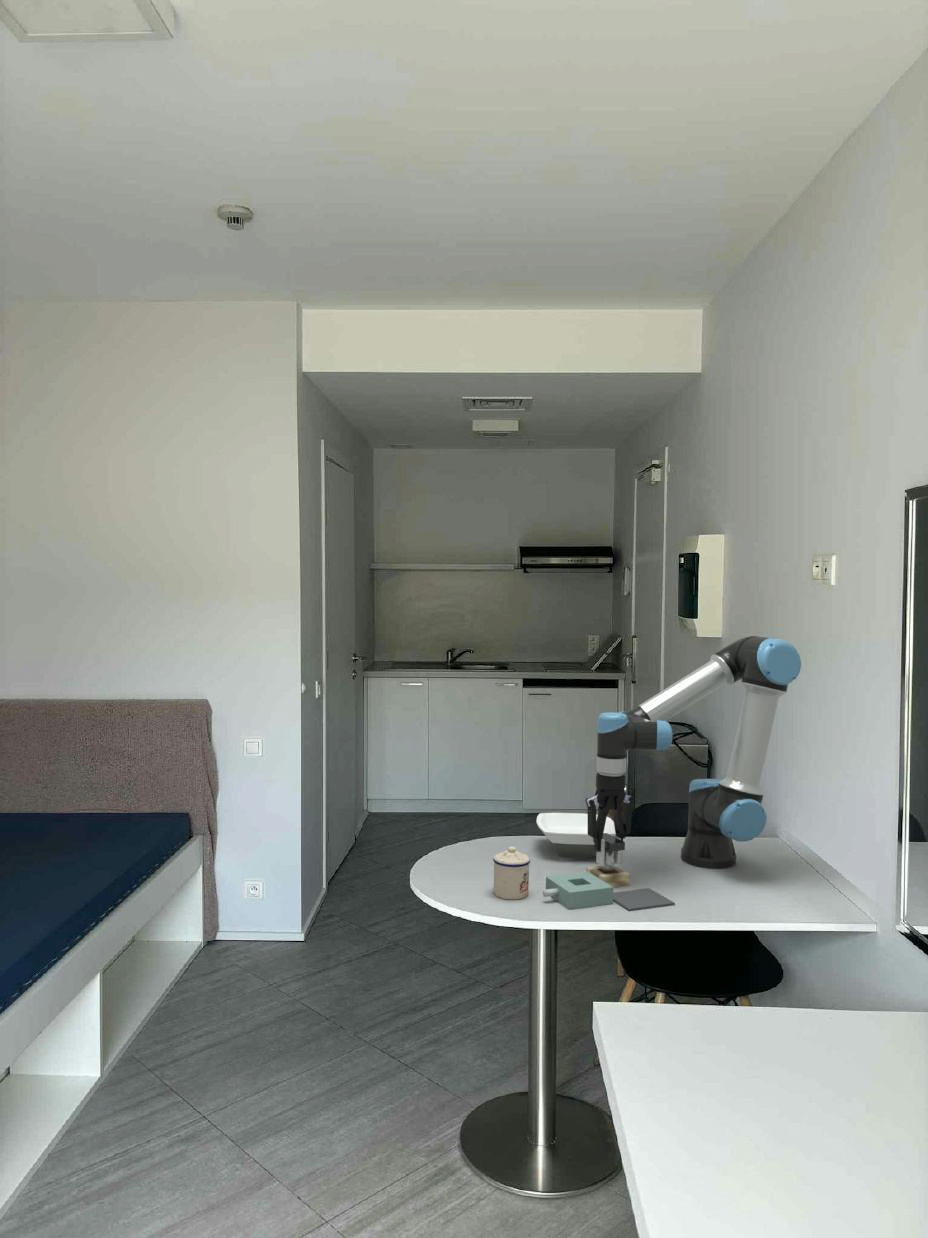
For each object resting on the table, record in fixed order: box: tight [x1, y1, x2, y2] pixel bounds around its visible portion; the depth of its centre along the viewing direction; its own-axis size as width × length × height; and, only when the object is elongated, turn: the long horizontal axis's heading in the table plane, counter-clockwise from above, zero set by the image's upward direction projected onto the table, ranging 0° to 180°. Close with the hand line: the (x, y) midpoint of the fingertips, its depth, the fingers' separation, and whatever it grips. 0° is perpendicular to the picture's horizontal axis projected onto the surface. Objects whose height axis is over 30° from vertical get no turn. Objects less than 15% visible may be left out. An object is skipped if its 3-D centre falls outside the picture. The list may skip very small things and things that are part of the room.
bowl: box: [536, 812, 616, 858], centre depth 255 cm, size 22×23×8 cm
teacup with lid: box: [492, 846, 531, 901], centre depth 220 cm, size 12×9×12 cm
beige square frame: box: [586, 864, 631, 888], centre depth 230 cm, size 8×8×3 cm
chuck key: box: [593, 833, 626, 874], centre depth 229 cm, size 4×9×12 cm, turn 22°
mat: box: [613, 887, 676, 912], centre depth 217 cm, size 13×11×1 cm
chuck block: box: [542, 871, 614, 910], centre depth 217 cm, size 16×12×4 cm
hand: (608, 862), depth 229 cm, fingers closed on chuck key, 4 cm apart
